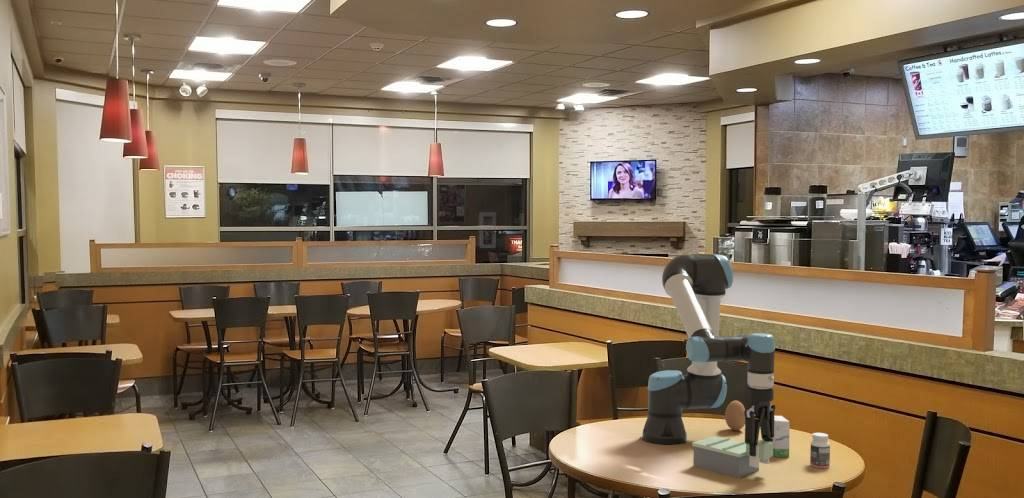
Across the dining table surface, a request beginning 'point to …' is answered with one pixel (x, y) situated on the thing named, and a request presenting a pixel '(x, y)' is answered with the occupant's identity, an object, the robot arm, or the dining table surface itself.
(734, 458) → the tub
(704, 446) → the lid
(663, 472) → the dining table surface
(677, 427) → the robot arm
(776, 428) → the ink box
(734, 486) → the dining table surface
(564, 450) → the dining table surface
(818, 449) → the pill bottle
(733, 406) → the egg
